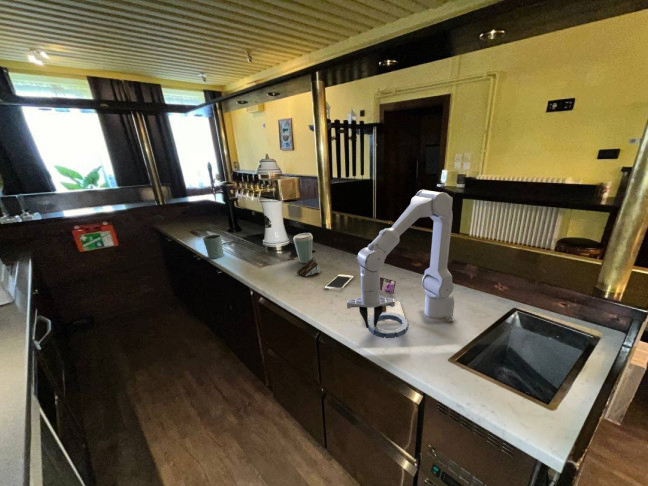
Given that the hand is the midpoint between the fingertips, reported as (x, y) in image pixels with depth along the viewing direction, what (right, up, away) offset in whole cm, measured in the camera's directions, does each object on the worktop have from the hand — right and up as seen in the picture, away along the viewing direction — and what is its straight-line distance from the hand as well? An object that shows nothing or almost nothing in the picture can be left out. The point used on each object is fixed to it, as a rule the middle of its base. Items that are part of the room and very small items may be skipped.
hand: (371, 326), depth 96 cm
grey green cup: (-88, +31, +87) cm, 128 cm away
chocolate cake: (-27, +19, +54) cm, 64 cm away
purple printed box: (+8, +10, +31) cm, 34 cm away
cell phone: (-12, +14, +42) cm, 46 cm away
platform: (+6, +2, +15) cm, 16 cm away
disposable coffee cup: (-32, +27, +72) cm, 83 cm away
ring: (+5, 0, 0) cm, 5 cm away
